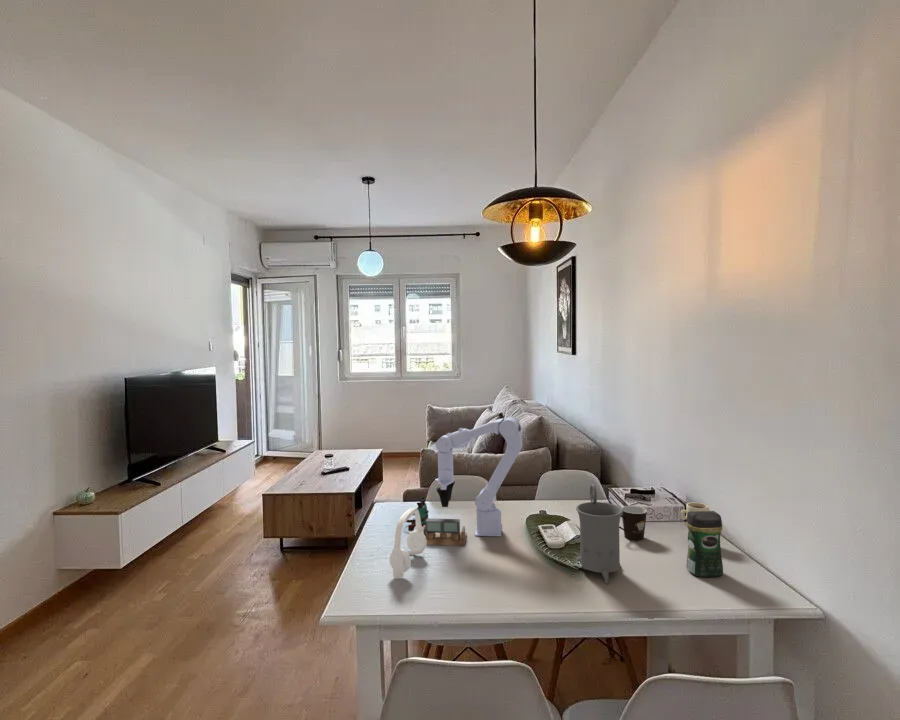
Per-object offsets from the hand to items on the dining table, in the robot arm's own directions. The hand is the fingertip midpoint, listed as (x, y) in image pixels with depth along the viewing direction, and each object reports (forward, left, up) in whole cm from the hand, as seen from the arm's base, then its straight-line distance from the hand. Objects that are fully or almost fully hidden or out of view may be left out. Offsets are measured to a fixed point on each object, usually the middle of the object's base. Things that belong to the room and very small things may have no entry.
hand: (446, 503), depth 198 cm
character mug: (-88, +6, -10) cm, 89 cm away
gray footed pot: (-51, +31, -10) cm, 61 cm away
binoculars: (+12, -2, -10) cm, 16 cm away
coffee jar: (-82, +30, -10) cm, 88 cm away
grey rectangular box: (0, +10, -7) cm, 12 cm away
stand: (0, +10, -10) cm, 14 cm away
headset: (+8, +33, -10) cm, 35 cm away
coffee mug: (-66, +3, -10) cm, 67 cm away
